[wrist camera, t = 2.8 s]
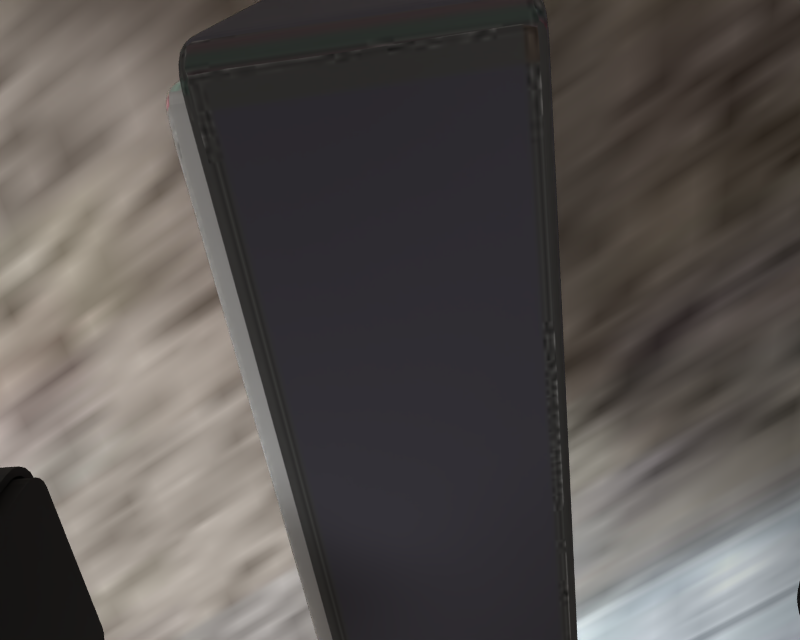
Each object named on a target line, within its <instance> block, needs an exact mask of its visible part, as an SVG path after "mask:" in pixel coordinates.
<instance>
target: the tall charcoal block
mask: <svg viewBox="0 0 800 640" xmlns="http://www.w3.org/2000/svg"><path fill="white" fill-rule="evenodd" d="M179 77H180V80H179V81H178V82H176V83H175V84H174V85H173V86H172V87H171V88H170V90H169V92H168V93H167V98H166V108H167V115H168V119H169V123H170V127H171V131H172V135H173V139H174V143H175V147H176V150H177V154H178V157H179V160H180V164H181V167H182V171H183V174H184V178H185V181H186V185H187V188H188V192H189V195H190V199H191V202H192V205H193V209H194V212H195V216H196V219H197V223H198V226H199V230H200V233H201V237H202V240H203V244H204V247H205V251H206V254H207V257H208V261H209V264H210V268H211V271H212V275H213V278H214V282H215V285H216V289H217V292H218V296H219V299H220V303H221V306H222V309H223V313H224V316H225V320H226V323H227V327H228V330H229V334H230V337H231V341H232V344H233V348H234V351H235V355H236V358H237V361H238V365H239V368H240V372H241V375H242V379H243V382H244V386H245V389H246V393H247V396H248V400H249V403H250V406H251V410H252V413H253V417H254V420H255V424H256V427H257V431H258V434H259V438H260V441H261V445H262V448H263V452H264V455H265V458H266V462H267V465H268V469H269V472H270V476H271V479H272V483H273V486H274V490H275V493H276V497H277V500H278V504H279V507H280V510H281V514H282V517H283V521H284V524H285V528H286V531H287V535H288V538H289V542H290V545H291V549H292V552H293V555H294V559H295V562H296V566H297V569H298V573H299V576H300V580H301V583H302V587H303V590H304V594H305V597H306V601H307V604H308V607H309V611H310V614H311V618H312V621H313V625H314V628H315V632H316V635H317V639H318V640H577V620H576V599H575V578H574V556H573V535H572V514H571V492H570V471H569V450H568V428H567V407H566V386H565V364H564V343H563V322H562V300H561V279H560V258H559V236H558V215H557V194H556V173H555V151H554V130H553V109H552V87H551V66H550V45H549V30H548V22H547V14H546V10H545V6H544V2H543V0H262V1H260V2H258V3H256V4H254V5H252V6H250V7H248V8H246V9H244V10H242V11H240V12H238V13H237V14H235V15H233V16H231V17H229V18H227V19H225V20H223V21H221V22H219V23H217V24H215V25H213V26H212V27H210V28H208V29H206V30H204V31H202V32H200V33H198V34H197V35H195V36H193V37H191V38H190V39H189V40H188V41H187V42H186V43H185V44H184V46H183V47H182V50H181V52H180V58H179Z"/></svg>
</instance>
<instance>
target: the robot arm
mask: <svg viewBox="0 0 800 640" xmlns="http://www.w3.org/2000/svg"><path fill="white" fill-rule="evenodd" d="M797 603H798V609H799V614H800V583H799V588H798V594H797ZM0 640H104V632H103V628H102V625H101V623H100V620H99V618H98V615H97V613H96V610H95V608H94V605H93V603H92V600H91V598H90V595H89V593H88V590H87V587H86V585H85V582H84V580H83V577H82V575H81V572H80V570H79V567H78V565H77V562H76V560H75V557H74V555H73V552H72V550H71V547H70V544H69V542H68V539H67V537H66V534H65V532H64V529H63V527H62V524H61V522H60V519H59V517H58V514H57V512H56V509H55V507H54V504H53V502H52V499H51V496H50V494H49V491H48V489H47V487H46V485H45V483H44V481H42V480H41V479H40V478H33V476H32V474H31V472H29V471H28V470H27V469H26V468H23V467H5V468H0Z"/></svg>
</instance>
